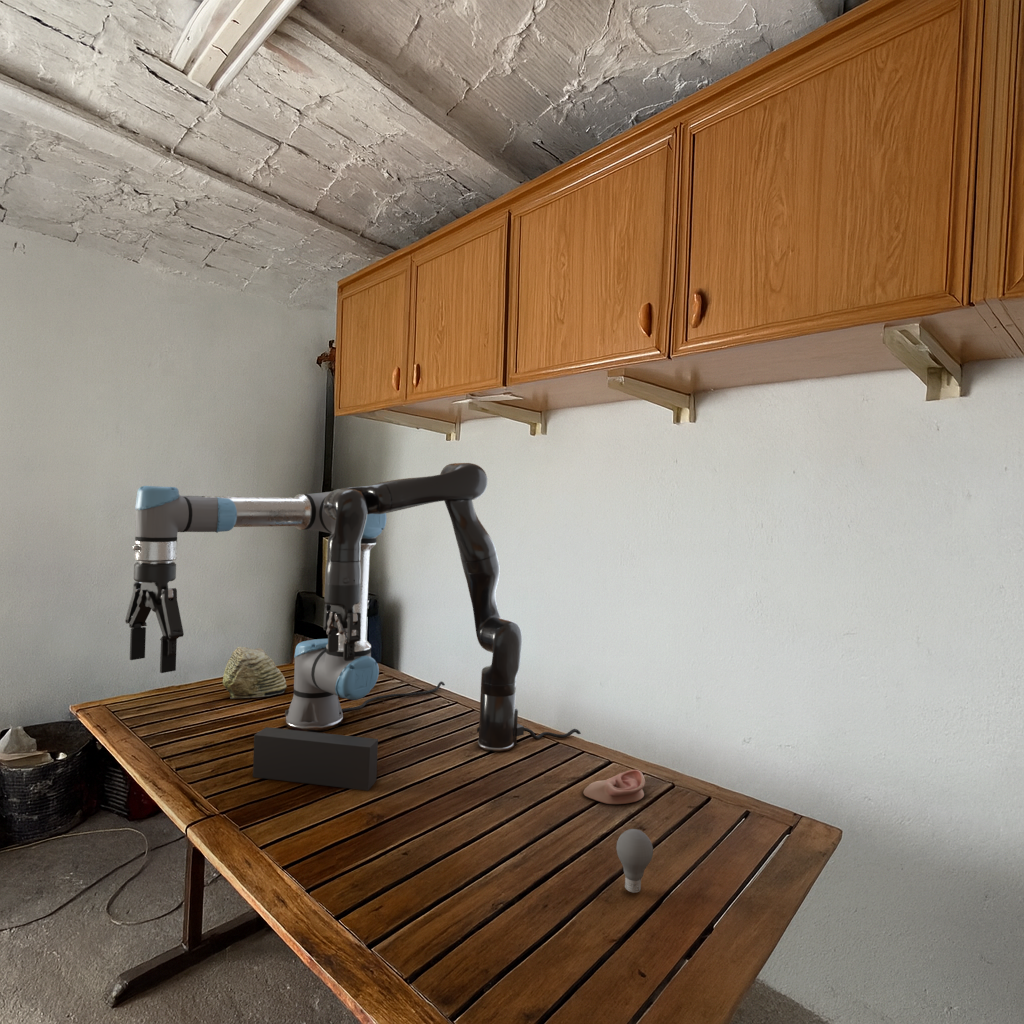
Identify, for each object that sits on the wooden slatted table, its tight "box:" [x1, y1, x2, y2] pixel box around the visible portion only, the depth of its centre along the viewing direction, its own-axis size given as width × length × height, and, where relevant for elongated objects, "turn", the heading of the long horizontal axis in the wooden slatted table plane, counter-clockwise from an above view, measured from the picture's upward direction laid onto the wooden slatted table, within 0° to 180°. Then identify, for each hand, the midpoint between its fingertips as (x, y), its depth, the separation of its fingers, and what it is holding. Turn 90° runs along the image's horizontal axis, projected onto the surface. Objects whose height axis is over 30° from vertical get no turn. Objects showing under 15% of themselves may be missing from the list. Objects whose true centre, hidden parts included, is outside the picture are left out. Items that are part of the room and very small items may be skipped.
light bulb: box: [615, 828, 654, 894], centre depth 106 cm, size 6×6×10 cm
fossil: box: [222, 646, 288, 699], centre depth 198 cm, size 9×18×15 cm, turn 132°
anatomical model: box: [582, 769, 646, 805], centre depth 141 cm, size 13×4×12 cm
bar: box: [252, 726, 379, 792], centre depth 142 cm, size 27×5×10 cm, turn 81°
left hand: (152, 665), depth 130 cm, fingers open, 13 cm apart
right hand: (340, 655), depth 137 cm, fingers open, 8 cm apart
